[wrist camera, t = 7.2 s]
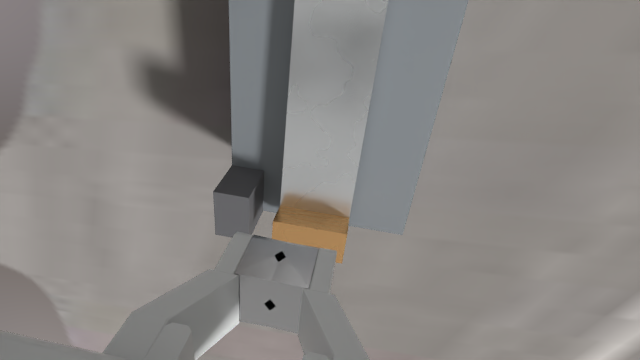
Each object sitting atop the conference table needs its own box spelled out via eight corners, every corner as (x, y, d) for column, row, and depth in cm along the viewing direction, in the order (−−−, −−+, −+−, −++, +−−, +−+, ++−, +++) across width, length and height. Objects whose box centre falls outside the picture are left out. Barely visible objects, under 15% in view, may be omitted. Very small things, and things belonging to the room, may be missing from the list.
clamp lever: (406, -107, 15) (411, -121, 13) (345, 235, 23) (341, 263, 21) (307, -118, 15) (295, -134, 13) (282, 224, 24) (271, 250, 21)
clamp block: (487, -160, 19) (556, -235, 11) (399, 184, 29) (404, 268, 22) (266, -182, 19) (188, -266, 12) (259, 161, 30) (215, 234, 22)
